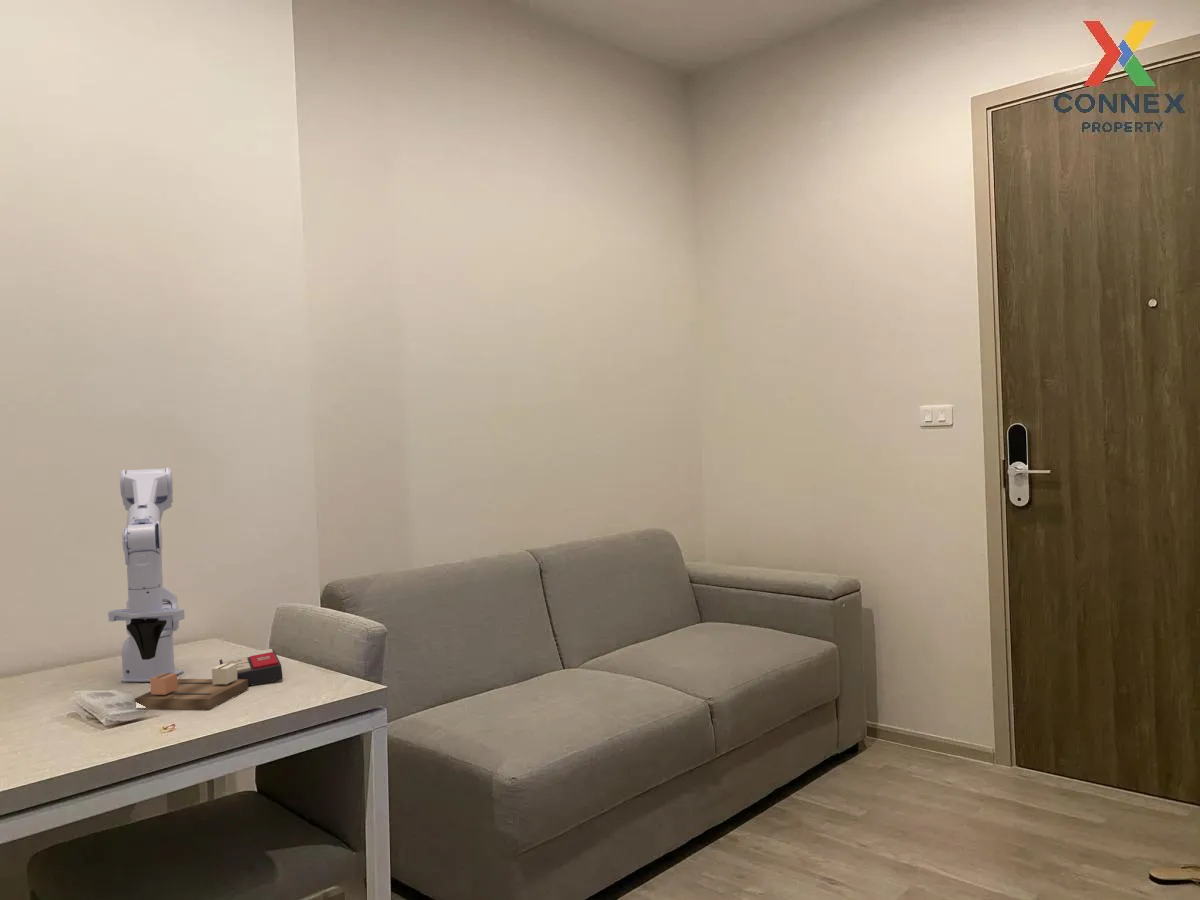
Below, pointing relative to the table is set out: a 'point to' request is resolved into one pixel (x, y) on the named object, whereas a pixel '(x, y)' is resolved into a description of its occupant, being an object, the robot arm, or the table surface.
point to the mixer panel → (194, 695)
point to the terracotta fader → (164, 683)
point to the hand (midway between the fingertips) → (148, 658)
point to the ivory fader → (224, 673)
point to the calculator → (256, 666)
